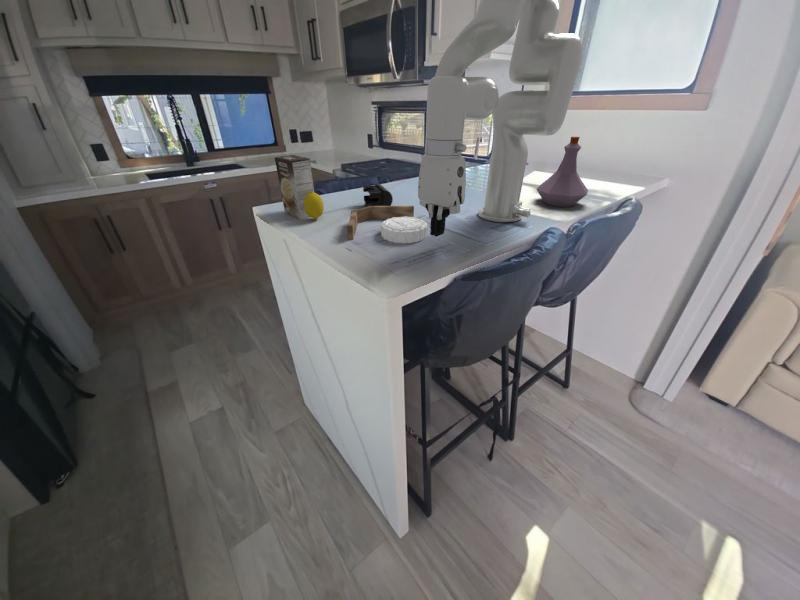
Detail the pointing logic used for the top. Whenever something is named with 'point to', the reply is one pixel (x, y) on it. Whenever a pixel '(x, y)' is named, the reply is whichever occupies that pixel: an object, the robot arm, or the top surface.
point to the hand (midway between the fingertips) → (437, 234)
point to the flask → (564, 180)
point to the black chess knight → (377, 196)
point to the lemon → (313, 205)
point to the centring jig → (376, 215)
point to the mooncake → (404, 229)
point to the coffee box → (294, 183)
